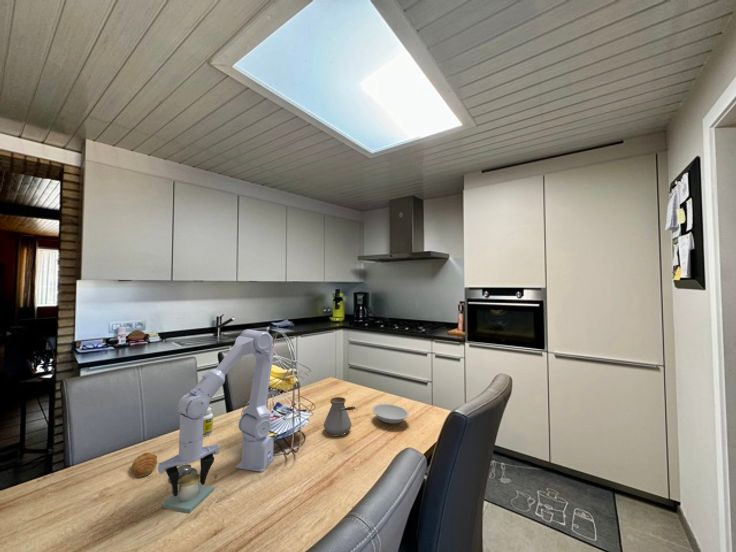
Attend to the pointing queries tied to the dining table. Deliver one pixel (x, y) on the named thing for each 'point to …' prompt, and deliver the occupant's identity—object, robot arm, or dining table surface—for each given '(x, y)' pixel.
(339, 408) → the coffee pot
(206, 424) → the supplement bottle
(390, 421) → the dish
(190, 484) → the can
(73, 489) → the dining table surface
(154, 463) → the pastry
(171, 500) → the coaster
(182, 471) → the grey round lid
